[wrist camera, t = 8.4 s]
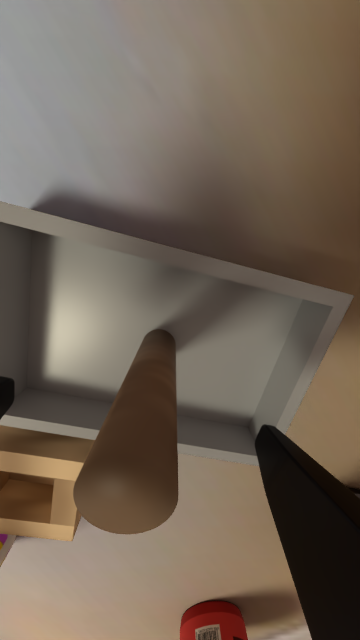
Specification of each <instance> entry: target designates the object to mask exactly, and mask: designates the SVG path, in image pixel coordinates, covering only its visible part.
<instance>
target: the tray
mask: <svg viewBox="0 0 360 640" xmlns="http://www.w3.org/2000/svg"><path fill="white" fill-rule="evenodd" d="M353 297H354V295H351V294H347V293H343V292H339V291H336V290H332V289H328V288H324V287H321V286H317V285H313V284H309V283H305V282H302V281H298V280H294V279H290V278H287V277H283V276H279V275H275V274H272V273H268V272H264V271H260V270H257V269H253V268H249V267H245V266H242V265H238V264H234V263H230V262H227V261H223V260H219V259H215V258H211V257H208V256H204V255H200V254H196V253H193V252H189V251H185V250H181V249H178V248H174V247H170V246H166V245H163V244H159V243H155V242H151V241H148V240H144V239H140V238H136V237H133V236H129V235H125V234H121V233H117V232H114V231H110V230H106V229H102V228H99V227H95V226H91V225H87V224H84V223H80V222H76V221H72V220H69V219H65V218H61V217H57V216H54V215H50V214H46V213H42V212H39V211H35V210H31V209H27V208H23V207H20V206H16V205H12V204H8V203H5V202H1V201H0V376H4V377H9V378H13V379H14V381H15V398H14V402H13V404H12V406H11V407H10V408H9V409H8V411H7V412H6V413H5V415H4V416H3V417H2V418H1V420H0V425H3V426H9V427H16V428H22V429H28V430H34V431H41V432H47V433H53V434H60V435H66V436H72V437H79V438H85V439H91V440H95V439H96V437H97V435H98V433H99V431H100V429H101V427H102V425H103V423H104V421H105V418H106V416H107V414H108V412H109V410H110V408H111V406H112V404H113V402H114V400H115V397H116V395H117V393H118V391H119V389H120V387H121V385H122V383H123V381H124V379H125V377H126V374H127V372H128V370H129V368H130V366H131V364H132V362H133V360H134V358H135V356H136V354H137V351H138V349H139V347H140V345H141V343H142V341H143V339H144V337H145V336H146V334H147V333H149V332H150V331H152V330H156V329H162V330H165V331H167V332H169V333H170V334H171V335H172V336H173V337H174V339H175V343H176V391H177V450H178V453H179V454H186V455H192V456H198V457H204V458H211V459H217V460H223V461H230V462H236V463H242V464H249V465H255V466H259V463H258V459H257V454H256V450H255V439H256V437H257V435H258V432H259V430H260V428H261V426H262V425H263V424H267V425H272V426H275V427H276V428H277V429H278V430H280V431H281V432H282V433H283V434H284V435H285V434H286V432H287V430H288V428H289V426H290V423H291V421H292V419H293V417H294V415H295V413H296V411H297V409H298V407H299V405H300V403H301V401H302V399H303V397H304V395H305V393H306V391H307V389H308V387H309V385H310V383H311V381H312V379H313V377H314V375H315V373H316V371H317V369H318V367H319V365H320V363H321V361H322V359H323V357H324V355H325V353H326V351H327V349H328V347H329V345H330V343H331V341H332V339H333V337H334V335H335V333H336V331H337V329H338V327H339V325H340V323H341V321H342V319H343V317H344V315H345V313H346V311H347V309H348V307H349V305H350V303H351V301H352V299H353Z"/></svg>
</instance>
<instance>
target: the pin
mask: <svg viewBox="0 0 360 640" xmlns="http://www.w3.org/2000/svg"><path fill="white" fill-rule="evenodd" d="M73 498H74V502H75V505H76V507H77V509H78V511H79V512H80V514H81V515H82V516H83V517H84V518H85V519H86V520H87V521H88V522H89V523H91V524H92V525H94V526H96V527H98V528H100V529H102V530H105V531H108V532H112V533H117V534H137V533H142V532H146V531H149V530H151V529H154V528H156V527H158V526H159V525H161V524H162V523H164V522H165V521H166V520H167V519H168V518H169V517H170V516H171V515H172V513H173V512H174V510H175V508H176V505H177V502H178V450H177V391H176V343H175V339H174V337H173V336H172V335H171V334H170V333H169V332H167V331H165V330H162V329H156V330H152V331H150V332H149V333H147V334H146V336H145V337H144V339H143V341H142V343H141V345H140V347H139V349H138V351H137V354H136V356H135V358H134V360H133V362H132V364H131V366H130V368H129V370H128V372H127V374H126V377H125V379H124V381H123V383H122V385H121V387H120V389H119V391H118V393H117V395H116V397H115V400H114V402H113V404H112V406H111V408H110V410H109V412H108V414H107V416H106V418H105V421H104V423H103V425H102V427H101V429H100V431H99V433H98V435H97V437H96V439H95V441H94V444H93V446H92V448H91V450H90V452H89V454H88V456H87V458H86V460H85V462H84V465H83V467H82V469H81V471H80V473H79V475H78V477H77V479H76V482H75V484H74V488H73Z"/></svg>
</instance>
